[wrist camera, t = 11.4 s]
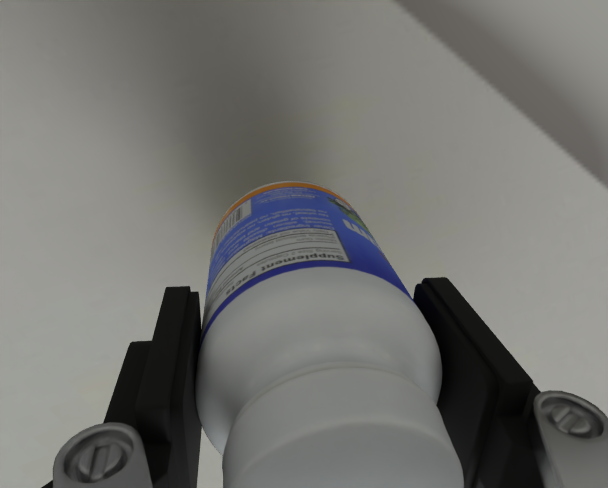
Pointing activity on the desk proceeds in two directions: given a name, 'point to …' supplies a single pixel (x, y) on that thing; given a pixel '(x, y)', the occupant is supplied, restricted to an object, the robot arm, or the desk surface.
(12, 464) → the desk surface
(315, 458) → the pill bottle
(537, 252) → the desk surface
